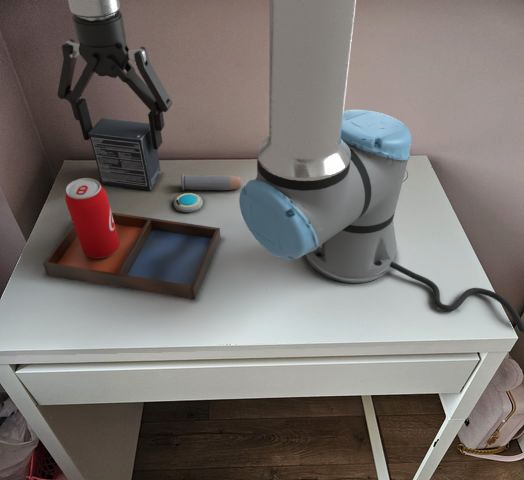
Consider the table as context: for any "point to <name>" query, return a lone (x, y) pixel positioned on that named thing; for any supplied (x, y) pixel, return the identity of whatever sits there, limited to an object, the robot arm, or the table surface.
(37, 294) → the table surface
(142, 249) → the sorting tray
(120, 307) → the table surface
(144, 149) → the small box
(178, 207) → the button
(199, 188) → the grey two-tone cylinder
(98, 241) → the beverage can
